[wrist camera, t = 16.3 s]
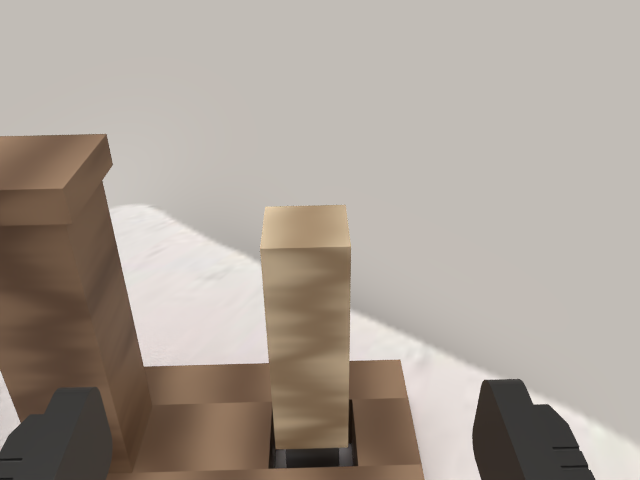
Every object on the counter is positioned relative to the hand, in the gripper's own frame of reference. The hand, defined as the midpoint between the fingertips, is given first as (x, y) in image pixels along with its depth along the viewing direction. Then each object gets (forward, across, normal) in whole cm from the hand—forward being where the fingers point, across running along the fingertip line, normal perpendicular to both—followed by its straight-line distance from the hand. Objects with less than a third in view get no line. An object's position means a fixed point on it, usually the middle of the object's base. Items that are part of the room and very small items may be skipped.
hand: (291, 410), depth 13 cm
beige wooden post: (+15, -1, +22) cm, 27 cm away
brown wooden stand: (+15, +4, +22) cm, 27 cm away
